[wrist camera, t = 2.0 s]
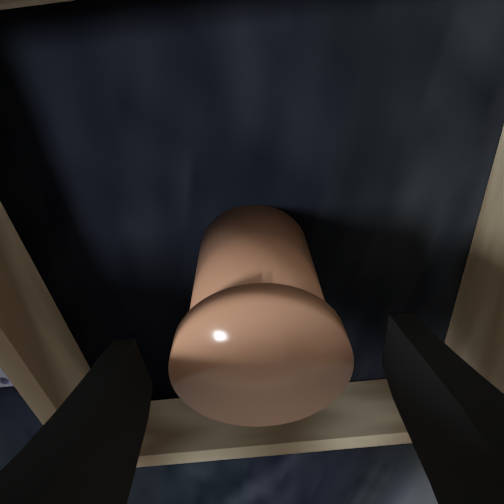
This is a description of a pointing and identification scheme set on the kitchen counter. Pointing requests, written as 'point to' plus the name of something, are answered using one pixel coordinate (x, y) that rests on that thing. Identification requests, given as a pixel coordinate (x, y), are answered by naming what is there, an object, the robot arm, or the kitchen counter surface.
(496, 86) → the kitchen counter surface
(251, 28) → the kitchen counter surface
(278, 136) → the kitchen counter surface
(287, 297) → the peach drawer knob
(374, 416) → the frame
